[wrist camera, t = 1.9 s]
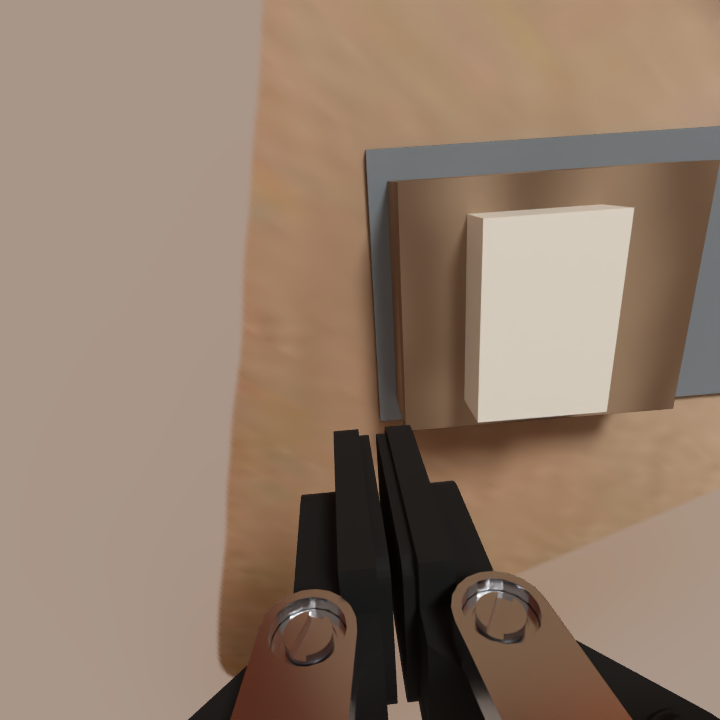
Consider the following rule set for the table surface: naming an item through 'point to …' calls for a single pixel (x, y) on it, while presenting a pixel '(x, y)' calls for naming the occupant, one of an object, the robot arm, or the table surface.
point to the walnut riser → (538, 191)
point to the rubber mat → (716, 275)
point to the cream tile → (543, 309)
